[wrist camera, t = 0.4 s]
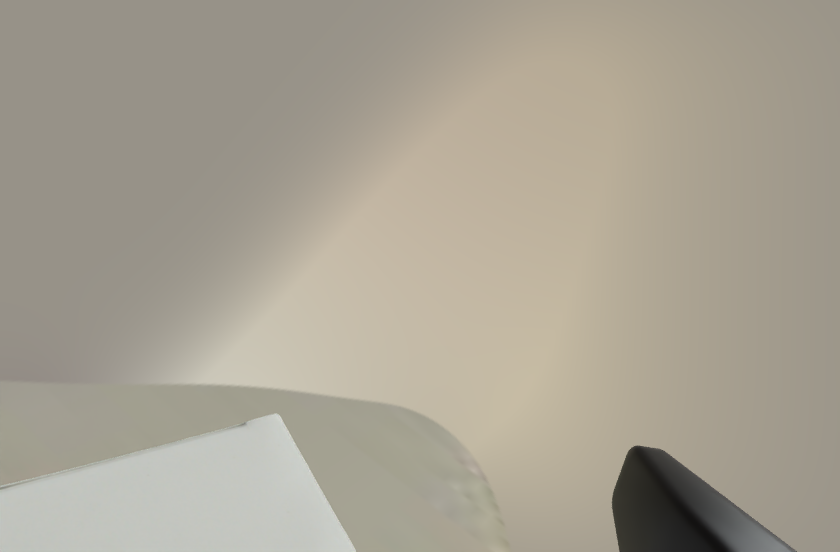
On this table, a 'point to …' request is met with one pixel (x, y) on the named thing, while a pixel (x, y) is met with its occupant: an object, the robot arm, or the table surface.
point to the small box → (179, 500)
